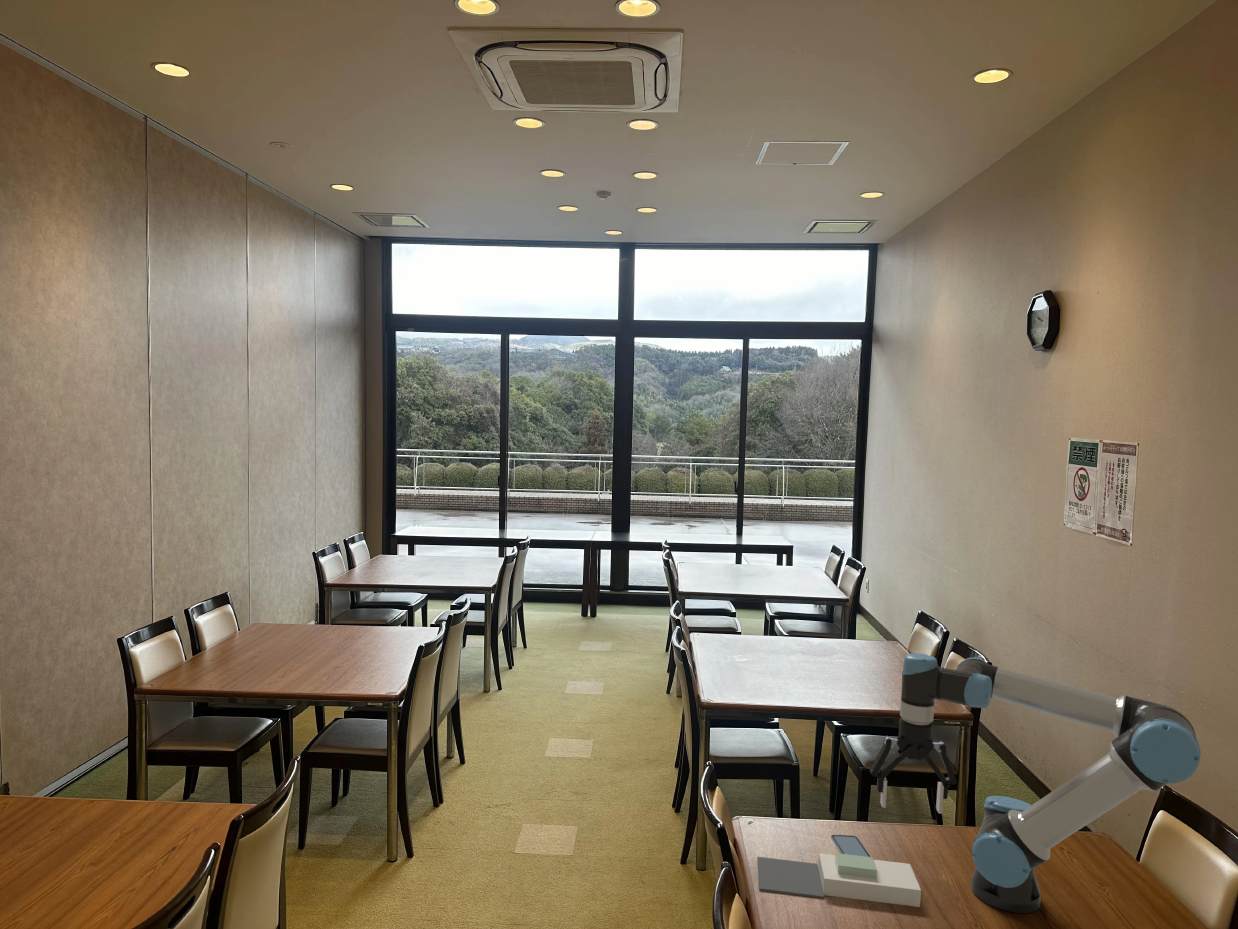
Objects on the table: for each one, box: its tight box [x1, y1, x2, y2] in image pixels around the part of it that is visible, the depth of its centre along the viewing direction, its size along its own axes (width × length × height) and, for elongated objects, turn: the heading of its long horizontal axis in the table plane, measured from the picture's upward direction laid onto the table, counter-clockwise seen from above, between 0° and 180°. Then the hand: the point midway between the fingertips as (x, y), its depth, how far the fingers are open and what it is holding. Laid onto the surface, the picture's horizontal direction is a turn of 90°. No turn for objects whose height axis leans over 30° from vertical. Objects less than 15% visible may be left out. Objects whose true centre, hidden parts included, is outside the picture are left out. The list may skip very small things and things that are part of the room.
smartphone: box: [830, 834, 872, 857], centre depth 215 cm, size 7×1×15 cm
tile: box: [834, 852, 877, 878], centre depth 198 cm, size 9×6×2 cm, turn 82°
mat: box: [757, 856, 825, 899], centre depth 200 cm, size 15×15×1 cm
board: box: [817, 852, 922, 908], centre depth 197 cm, size 22×12×4 cm, turn 82°
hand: (910, 808), depth 195 cm, fingers open, 12 cm apart
